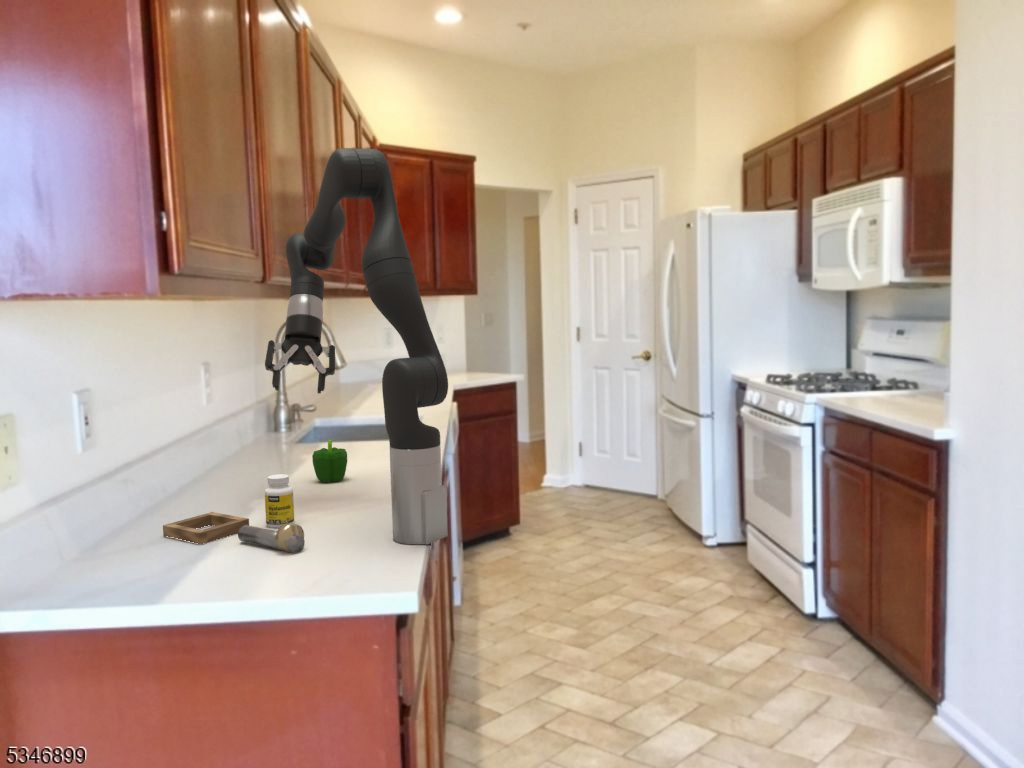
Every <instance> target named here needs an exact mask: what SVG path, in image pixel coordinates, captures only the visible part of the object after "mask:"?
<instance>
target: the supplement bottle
mask: <svg viewBox="0 0 1024 768" xmlns="http://www.w3.org/2000/svg"><path fill="white" fill-rule="evenodd" d="M289 477H290V476H289V475H288V474H283V473H282V474H281V473H277V474H271V475H269V476H267V485H269V486H267V488H265V490H264V507H265V510H264V511H265V524H266V527H268V528H272V529H277V528H278V529H279V528H280V527H281V526H282V525H283V524H285V523H291V524H295V505H294V489H293V487H292V486H291V485H289V483H290V478H289Z"/></svg>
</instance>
